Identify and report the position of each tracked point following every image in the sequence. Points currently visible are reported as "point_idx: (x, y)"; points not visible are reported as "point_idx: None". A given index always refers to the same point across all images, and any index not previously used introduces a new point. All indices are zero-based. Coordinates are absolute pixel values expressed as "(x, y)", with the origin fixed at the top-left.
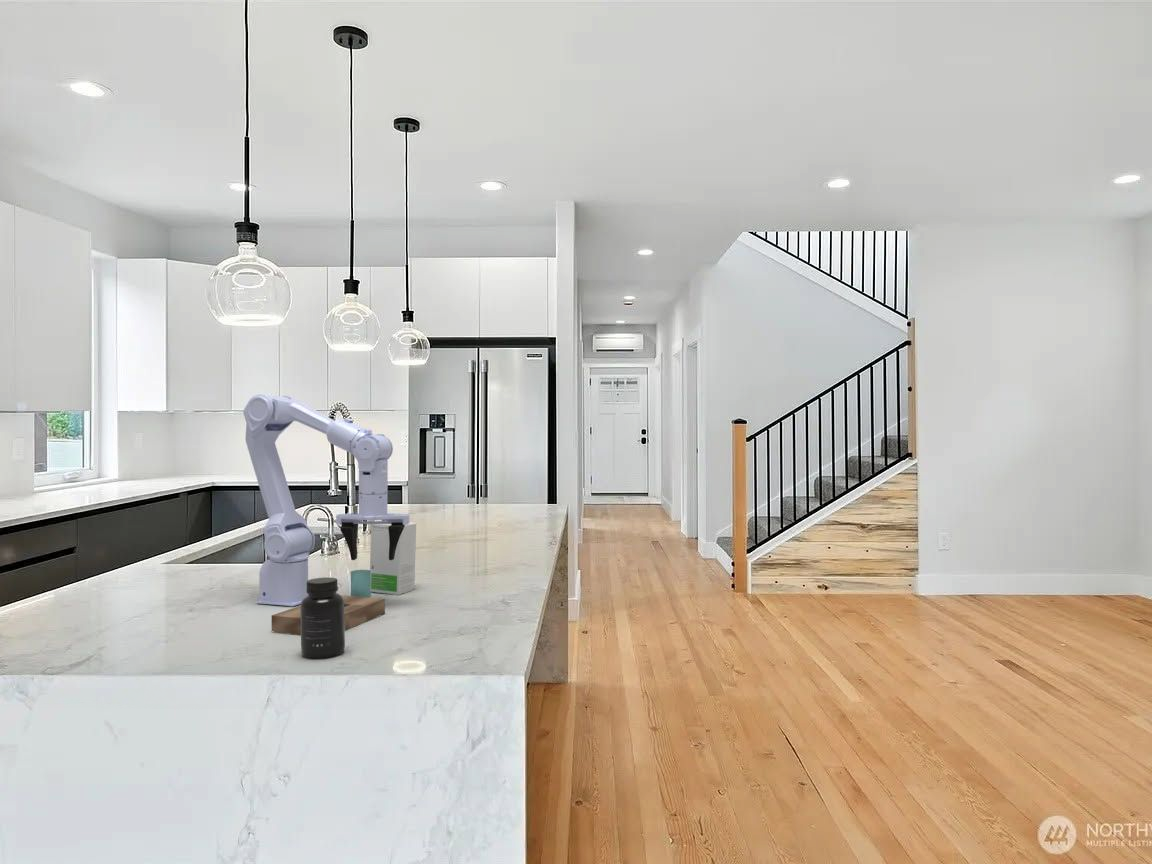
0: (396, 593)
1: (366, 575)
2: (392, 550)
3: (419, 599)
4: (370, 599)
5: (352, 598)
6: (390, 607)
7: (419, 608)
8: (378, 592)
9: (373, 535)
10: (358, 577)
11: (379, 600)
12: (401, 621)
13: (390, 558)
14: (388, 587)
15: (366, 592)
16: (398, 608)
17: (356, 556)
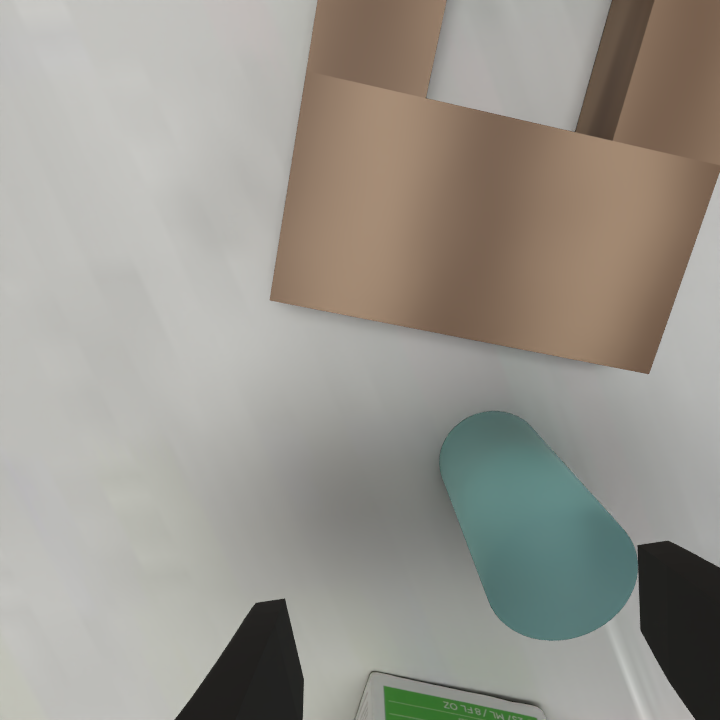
0: (384, 679)
1: (492, 529)
2: (216, 671)
3: (229, 605)
4: (354, 263)
5: (486, 281)
6: (311, 430)
7: (144, 427)
8: (489, 696)
9: None
10: (541, 491)
11: (281, 240)
12: (111, 126)
13: (265, 609)
14: (435, 712)
15: (464, 469)
16: (258, 414)
17: (652, 634)
